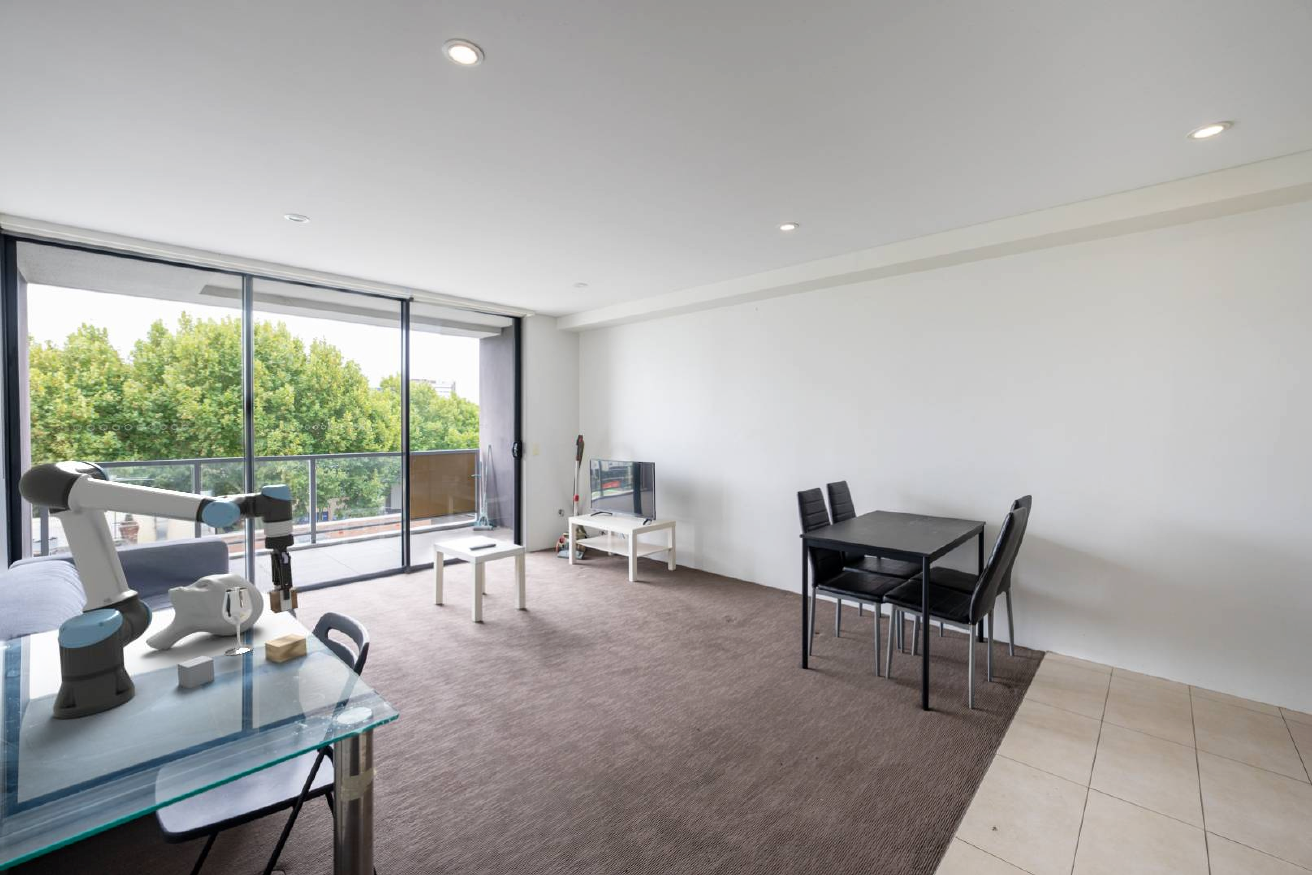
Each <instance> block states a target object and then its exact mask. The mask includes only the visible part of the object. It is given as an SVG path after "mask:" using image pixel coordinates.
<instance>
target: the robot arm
mask: <svg viewBox="0 0 1312 875" xmlns="http://www.w3.org/2000/svg"><path fill="white" fill-rule="evenodd" d="M18 490H19V493H20V495H21V497H22V498H23V499H24V500H25V501H27V503H30V504H31V505H34V506H37V507H40V508H47V510H48V513H49V516H51V517H53V518H56V519H58V520H60V523H61V526H62V529H63V532H64V536H65V538H66V542H67V544H68V547H69V550H70V553H71V556H72V559H73V562H74V565H75V567H76V568H75V569H76V571H77V575H78V578H79V580H80V583H81V585H82V589H83V592H84V594H85V598H86V603H85V604H84V605H83V607H82V608H81V611H82V613H81V614H79V615H75V616H72V617H71V618H69V619H67V620H66V621H64V622H63V623H62V624H61V625H60V626H59V628H58V637H57V643H58V649H59V650H58V651H59V660H60V661H59V663H60V674H61V675H60V676H61V684H60V686H59V690H58V693H57V695H56V697H55V701H54V703H53V707H52V711H53V713H52V714H53V717H54V718H55V719H60V720H63V719H67V720H68V719H69V720H70V719H77V718H83V717H86V716H91V715H95V714H97V713H98V714H99V713H101V712H104V711H108V710H110V709H112V708H115V707H118V706H121V705H122V704H124V703H127V702H128V701H129V700H131V699H132V698H133V697H134V696H135V695H136V686H135V684H134V681H133V680H132V678H131V676H130V674H129V672H128V671H127V670H126V667H125V653H124V649H125V647H127V646H128V645H130V644H131V643H133V642H134V641H136V640H138V639H139V638H140V637H141V636H143V635H144V633H145V632H146V631H147V630H148V629H149V627H150V625H151V623H152V620H153V611H152V609H151V607H150V606H149V604H148V603H146V602H145V601H143V600H141V598H140V595H139V592H138V591H136V590H133V589H131V588H129V585H128V582H127V579H126V576H125V573H124V570H123V566H122V564H121V561H120V557H119V554H118V551H117V549H116V545H115V542H114V540H113V536H112V533H111V530H110V526H109V524H108V520H107V518H106V514H105V512H104V511H107V512H108V511H109V512H115V513H123V514H131V515H139V516H146V517H151V518H152V517H154V518H159V519H168V520H176V521H177V520H178V521H184V522H192V523H199V524H204V525H206V526H209V527H211V528H215V529H221V528H227V527H230V526H231V525H234V524H235V523H237V522H239V521H241V520H245V519H254V518H255V519H256V518H262V519H263V524H262V525H263V526H262V527H263V535H264V548H265V549H266V550H272V551H270V553H269V554H270V561H271V563H270V565H271V567H270V568H271V582H272V584H273V586H274V587H273V590H274V589H278V591H280V601H281V611H284V612H287V611H286V610H288V611H291V610H290V609H292V601H291V588H292V587H294V585H293V574H292V564H291V563H292V556H291V555H290V553H289V552H288V549H287V548H289V547H292V546H294V545H295V540H294V539H295V538H294V534H293V531H294V526H295V524H296V522H295V521H293V507H292V506H293V505H292V503H293V502H292V494H291V488H290V486H289V485H287V484H272V485H264V486H262V487H261V490H260V492H256V493H243V494H227V495H219V496H215V497H214V496H207V495H202V494H201V495H200V494H195V493H187V492H182V491H181V492H180V491H176V490H175V491H174V490H167V489H161V488H155V487H149V486H142V485H135V484H129V483H128V484H127V483H121V482H115V481H110V476H109V475H108V473H107V471H106V470H105V469H103V467H101V466H100V465H98V464H95V463H93V462H90V461H84V460H83V461H82V460H69V461H68V460H67V461H61V462H48V463H47V462H46V463H43V464H39V465H36V466H34V467H32V468H30V469H29V470H27V471H26V472H24V474H23V475H22V476H21V478H20V479H19V482H18ZM279 588H281V589H279ZM292 610H293V609H292Z"/></svg>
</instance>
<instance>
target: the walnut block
mask: <svg viewBox="0 0 1312 875" xmlns="http://www.w3.org/2000/svg"><path fill="white" fill-rule="evenodd" d="M279 589H281V588H279ZM297 590H298V589H297V588H296V587H294V586H293V587H292V588H291V601H292V609H290V610H286V611H281V601H280V591H278V589H274V588H273V589H271V590H269V591H268V592H269V593H268V594H269V606H270V611H271V612H272V613H274V614H280V613H284V612H287V611H291V610H296V609H298V608H299V603H298V591H297Z"/></svg>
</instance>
